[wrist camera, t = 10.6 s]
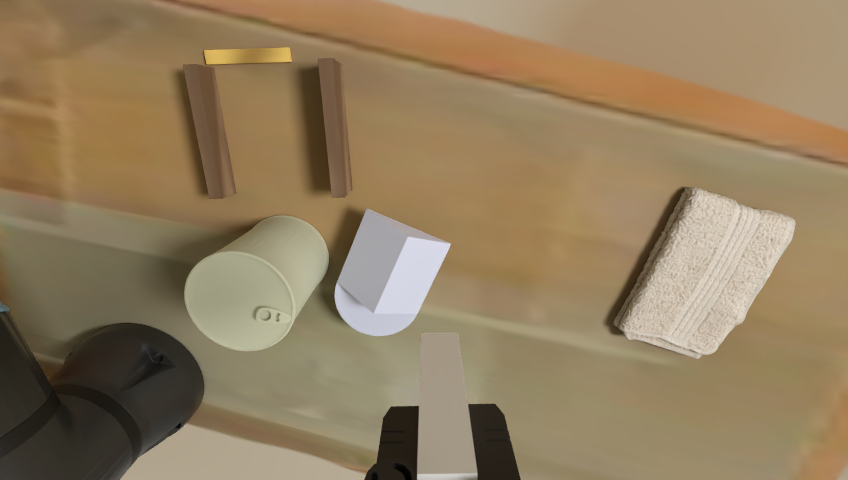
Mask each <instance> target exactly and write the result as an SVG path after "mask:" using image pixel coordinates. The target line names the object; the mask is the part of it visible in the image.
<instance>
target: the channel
mask: <svg viewBox="0 0 848 480" xmlns="http://www.w3.org/2000/svg"><path fill="white" fill-rule="evenodd" d="M204 54H205V59H206V64H207V65H217V64H248V63H279V62H292V59H291V51H290V48H261V49H231V50H204ZM318 66H319V76H320V86H321V95H322V105H323V115H324V125H325V135H326V145H327V154H328V164H329V174H330V184H331V194H332V198H344V197H346V196H347V195H348V194H349V193H350V192H351V191H352V180H351V168H350V156H349V144H348V132H347V121H346V109H345V97H344V85H343V74H342V64H341V63H339V62H337V61H336V60H334V59H332V58H324V59H318ZM183 69H184V74H185V79H186V84H187V89H188V94H189V99H190V104H191V109H192V114H193V119H194V124H195V129H196V134H197V139H198V144H199V149H200V154H201V159H202V164H203V169H204V174H205V179H206V184H207V189H208V194H209V199H222V198H224V197H227V196H229V195H232V194H234V193H236V190H235V184H234V178H233V173H232V167H231V162H230V156H229V150H228V145H227V139H226V133H225V128H224V122H223V116H222V111H221V105H220V99H219V94H218V88H217V83H216V77H215V71H214V68H211V67H207V66H202V65H197V64H188V65H183Z"/></svg>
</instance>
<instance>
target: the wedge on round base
mask: <svg viewBox="0 0 848 480" xmlns="http://www.w3.org/2000/svg"><path fill="white" fill-rule="evenodd" d="M450 245H451V244H450V243H448V242H445V241H443V240H441V239H438V238H436V237H433V236H431V235H429V234H426V233H424V232H422V231H419V230H417V229H415V228H412V227H410V226H407V225H405V224H403V223H400V222H398V221H396V220H393V219H391V218H388V217H386V216H384V215H381V214H379V213H377V212H374V211H372V210H370V209H366V212H365V214H364V217H363V219H362V222H361V224H360V227H359V229H358V231H357V234H356V236H355V239H354V241H353V244H352V246H351V249H350V251H349V254H348V256H347V259H346V261H345V264H344V266H343V269H342V271H341V274H340V276H339V279H338V281H337V284H336V287H335V303H336V307H337V309H338V311H339V313H340V315H341V317H342V318H343V319H344V320H345V322H346V323H347V324H349V325H350V326H351V327H352V328H354V329H356V330H357V331H359V332H362V333H364V334H368V335H373V336H386V335H391V334H394V333H397V332H399V331H401V330H403V329H404V328H406V327H407V326H408V325H409V324H410V323H411V322H412V321H413V320H414V319H415V317H416V315H417V313H418V311H419V309H420V307H421V305H422V303H423V301H424V299H425V297H426V295H427V293H428V291H429V289H430V287H431V285H432V282H433V280H434V278H435V276H436V274H437V272H438V270H439V268H440V266H441V264H442V262H443V260H444V258H445V256H446V254H447V252H448V249H449V247H450Z"/></svg>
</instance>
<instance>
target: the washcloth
mask: <svg viewBox="0 0 848 480" xmlns="http://www.w3.org/2000/svg"><path fill="white" fill-rule="evenodd" d="M794 228H795V221H794V219H793V218H791V217H788V216H787V215H785V214H782V213H775V212H774V211H770V210H763V209H757V208H755V209H753V208H750V207H747V206H744V205H742V204H738V203H736V201H735V200H732V199H730V198H727V197H725V196H722V195H719V194H715V193H710V192H708V191H705V190H702V189H700V188H693V187H690V188H685V190H684V192H683V193H682V196H681V197H680V200H679V201H678V203H677V204H676V207H675V208H674V211H673V213H672V215H670V217H669V220H668V222H667V224H666V226H665V228H664V231H663V232H662V233H661V236H660V237H659V239H658V241H657V242H656V243H655V247H654V248H653V250H652V251H651V252H650V253H651V254H650V255H649V258H648V259H647V263H646V264H645V266H644V268H643V269H644V270H643V271H642V272H641V274H640V276H639V277H638V279H637V282H636V284H635V286H634V288H633V290H631V292H630V295H629V296H628V297H627V299H626V301H625V303H624V305H623V306H622V308H621V310H620V311H619V313H618V315H617V316H616V318H615V320H614V323H613V324H614V325H615V326H616V327H618V328H619V329H620V330H621V331H623V332H624V334H625V336H626V338H627V339H628V340H632V339H636V340H640V341H644V342H647V343H650V344H653V345H656V346H660V347H662V348H665V349H669V350H672V351H675V352H678V353H681V354H685V355H688V356H691V357H694V358H696V359H698V358H700V357H701V356H702V354H705V355H710V354H712V353H714V352H715V351H716V350H717V348H718V346H719V345H720V344H721V343H722V341H723V340H724V338H725V337H726V336H727V334H728V333H729V332H730V331H731V330H732V329H733V328H734V326H736V325H738V324H741V323H742V322H743V321H744V319H745V316H746V313H747V310H748V309H749V307H750V306H751V304H752V302H753V300H754V298H755V297H756V295H757V294H758V292H759V291H760V290H761V289H762V287H763V286H764V284H765V283H766V280H767V279H768V278H769V276H770V274H771V272H772V270H773V268H774V266H775V264H776V262H777V261H778V260H779V258H780V256H781V255H782V253H783V252H784V250H785V249H786V247H787V246H788V244H789V243H790V242H791V239H792V237H793V233H794Z"/></svg>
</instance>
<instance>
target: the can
mask: <svg viewBox="0 0 848 480" xmlns="http://www.w3.org/2000/svg"><path fill="white" fill-rule="evenodd" d="M328 265H329V253H328V249H327V246H326V243H325V241H324V239H323V238H322V236H321V235H320V233H319V232H318V231H317V230H316V229H315V228H314V227H313V226H312V225H310V224H309V223H307V222H305V221H304V220H302V219H299V218H296V217H293V216H286V215H279V216H272V217H269V218H266V219H264V220H262V221H260V222H259V223H258V224H256V225H255V226H254V227H253V228H252V229H251V230H250V231H248V232H247V233H245V234H244V235H242V236H241V237H239V238H238V239H236V240H235V241H233V242H231V243H230V244H228V245H227V246H225V247H224V248H222V249H220V250H219V251H217V252H215V253H214V254H212V255H209V256H207V257H205V258H204V259H202V260H201V261H200V262H198V263H197V264H196V265H195V266H194V268H193V269H192V270H191V272H190V273H189V275H188V277H187V280H186V283H185V288H184V300H185V305H186V309H187V312H188V314H189V316H190V318H191V320H192V321H193V323H194V324H195V326H196V327H197V328H198V329H199V330H200V331H201V332H202V333H203V334H204V335H205V336H206V337H208V338H209V339H210V340H212V341H214V342H215V343H217V344H219V345H221V346H224V347H226V348H229V349H233V350H238V351H257V350H262V349H265V348H268V347H270V346H272V345H274V344H276V343H277V342H279V341H280V340H281V339H282V338H283V337H284V336H285V335H286V334H287V333H288V332H289V330H290V328H291V326H292V324H293V322H294V320H295V318H296V317H297V315H298V314H299V312H300V310H301V309H302V307H303V306H304V304H305V303H306V301H307V299H308V298H309V296H310V295H311V293H312V292H313V290H314V289H315V287H316V286H317V285H318V284H319V283H320V282H321V281H322V280H323V278H324V276H325V274H326V272H327V269H328Z"/></svg>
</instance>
